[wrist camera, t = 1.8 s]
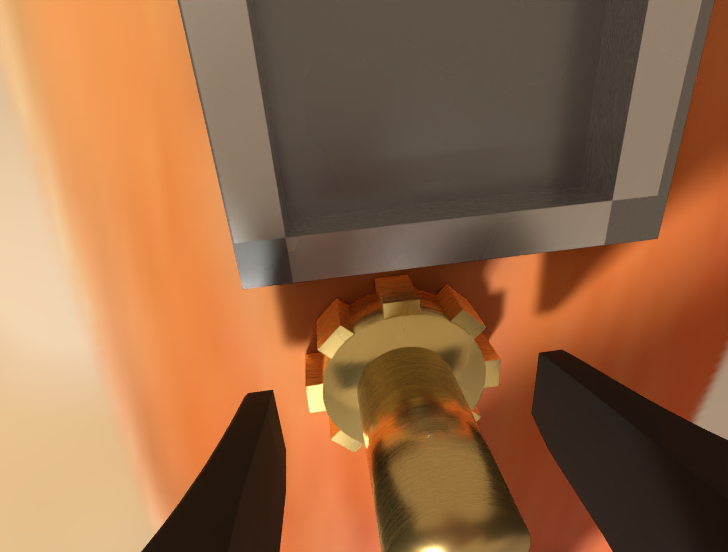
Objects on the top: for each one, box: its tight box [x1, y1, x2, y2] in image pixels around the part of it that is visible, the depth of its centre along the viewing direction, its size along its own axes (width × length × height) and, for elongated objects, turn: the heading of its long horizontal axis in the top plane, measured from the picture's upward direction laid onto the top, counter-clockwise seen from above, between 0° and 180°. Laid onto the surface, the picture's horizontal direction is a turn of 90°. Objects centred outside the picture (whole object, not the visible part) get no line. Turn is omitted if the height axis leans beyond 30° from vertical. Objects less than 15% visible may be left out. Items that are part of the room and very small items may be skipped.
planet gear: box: [306, 274, 530, 552], centre depth 10 cm, size 5×5×6 cm
